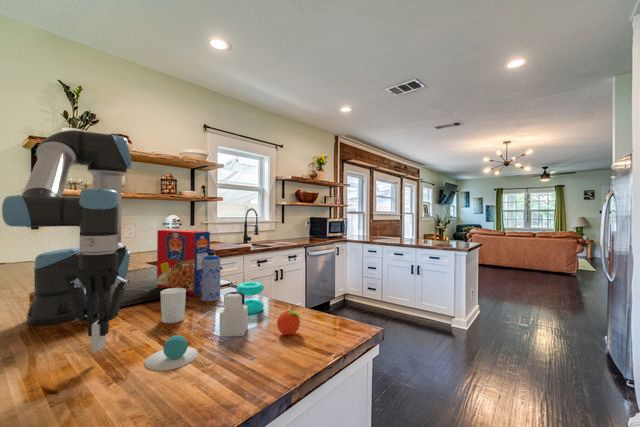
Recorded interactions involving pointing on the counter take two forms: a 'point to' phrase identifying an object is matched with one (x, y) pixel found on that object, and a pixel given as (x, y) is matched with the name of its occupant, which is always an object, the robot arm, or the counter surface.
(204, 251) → the pasta box
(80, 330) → the counter surface
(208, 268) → the aerosol can
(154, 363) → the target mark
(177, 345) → the ball
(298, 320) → the clementine
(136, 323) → the counter surface
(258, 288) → the donuts
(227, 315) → the medicine bottle
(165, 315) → the white cup
